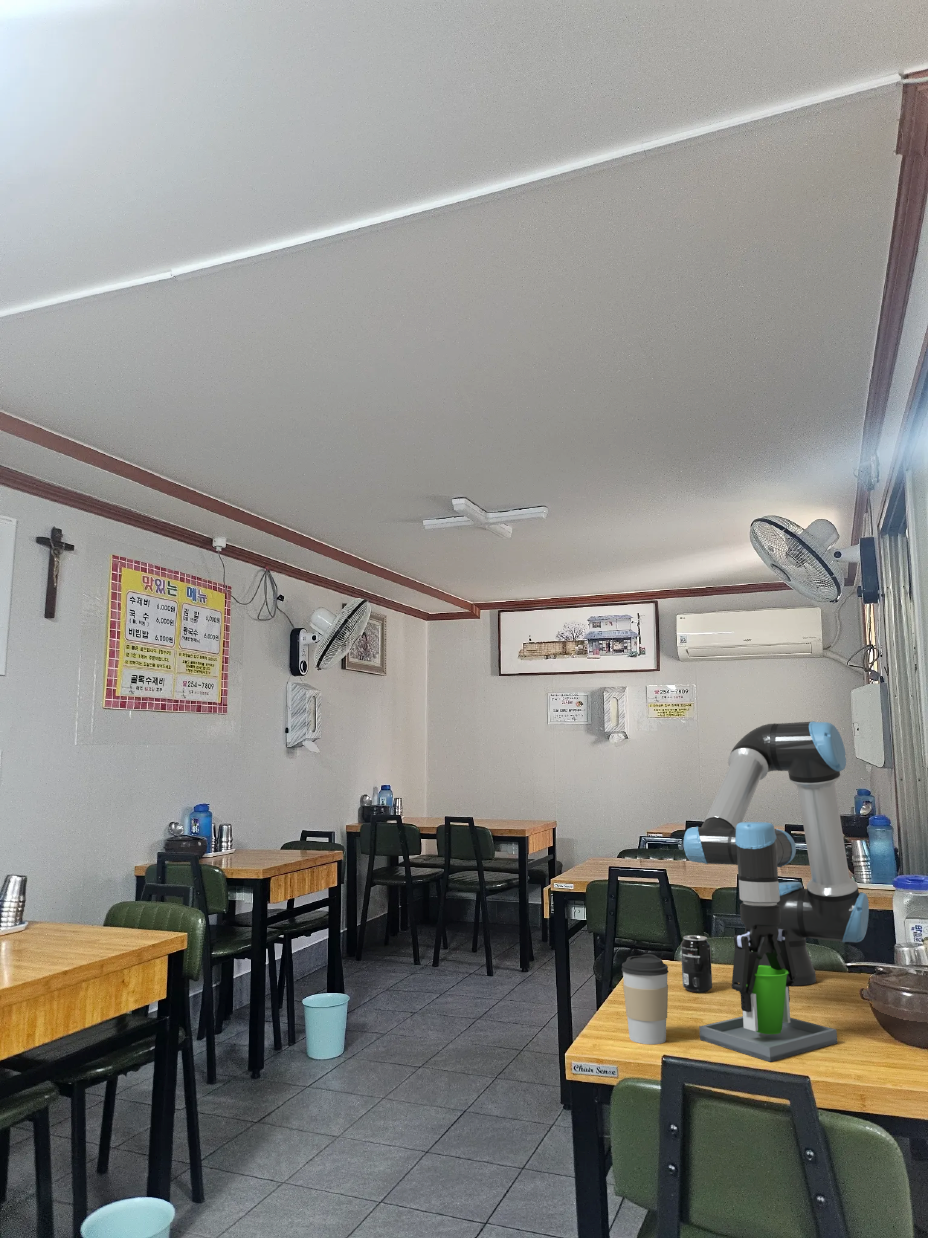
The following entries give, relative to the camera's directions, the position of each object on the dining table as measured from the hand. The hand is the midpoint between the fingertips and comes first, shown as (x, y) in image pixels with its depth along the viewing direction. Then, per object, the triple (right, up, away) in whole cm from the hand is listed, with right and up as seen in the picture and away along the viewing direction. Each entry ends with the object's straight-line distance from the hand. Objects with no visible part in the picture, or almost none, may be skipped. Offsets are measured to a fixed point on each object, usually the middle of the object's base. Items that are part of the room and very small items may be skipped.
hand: (767, 1025), depth 164 cm
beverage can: (-3, -11, +39) cm, 40 cm away
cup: (0, -1, 0) cm, 1 cm away
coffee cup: (-23, -3, +1) cm, 23 cm away
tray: (0, -3, -1) cm, 3 cm away
